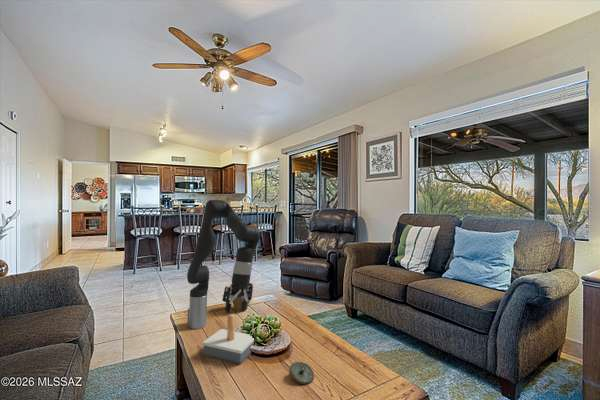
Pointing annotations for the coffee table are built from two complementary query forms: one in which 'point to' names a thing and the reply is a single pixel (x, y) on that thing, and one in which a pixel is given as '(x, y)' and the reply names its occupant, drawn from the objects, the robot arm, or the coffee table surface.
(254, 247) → the robot arm
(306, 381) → the lid
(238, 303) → the plant pot
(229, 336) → the tub lid
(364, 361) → the coffee table surface
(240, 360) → the parts tub
